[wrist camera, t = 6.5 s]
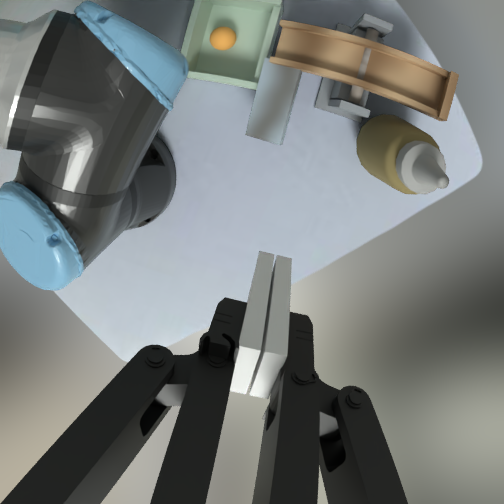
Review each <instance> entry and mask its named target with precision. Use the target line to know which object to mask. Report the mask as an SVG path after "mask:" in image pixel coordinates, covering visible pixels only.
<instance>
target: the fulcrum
mask: <svg viewBox="0 0 504 504" xmlns="http://www.w3.org/2000/svg"><path fill="white" fill-rule="evenodd" d="M368 28H370V29H374V30H376V31H378V32H379V34H378V38H377V43H380V44H383V41H384V40H383V39H382V37H384V36H385V35H387V34H388V33H390V32H392V29H393V24H391V23H388V22H386V21H383V20H381V19H378V18H376V17H373V16H371V15H368V14H365V13H364V15H363V16H362V17H361V18H360V19H359V20H358V21H357V23H356V24H355V25H354V26H353V27H352V28H351V27H348V26H345V25H342V24H339V23H338V24H337V28H336V31H339V32H343V33H347V34H351V35H354V36H358V37H361V38H364V39H365V36H366V33H367V29H368ZM351 88H352V85H349V84H346V83H343V82H339V81H336V80H333V79H329V78H326V77H323V79H322V83H321V86H320V90H319V93H318V97H317V100H316V104H315V108H318V109H322V110H325V111H328V112H331V113H334V114H337V115H340V116H343V117H346V118H349V119H352V120H354V121H357V122H360V123H361V120H362V116H363V117H367V118H368V117H369V114H370V111H371V110H368V109H365V106H366V103H367V100H368V96H369V93H370V92H369V91H367V90H363V94H362V97H361V100H360V104H357V103H354V102H351V101H349V100H348V98H349V95H350V91H351Z"/></svg>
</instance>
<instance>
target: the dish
mask: <svg viewBox="0 0 504 504" xmlns="http://www.w3.org/2000/svg"><path fill="white" fill-rule="evenodd" d="M282 15H283V2H282V0H195V2H194V5H193V9H192V12H191V16H190V19H189V23H188V26H187V30H186V34H185V37H184V41H183V45H182V49H181V53H182V54H183V55H184V56H185V57H186V59H187V61H188V64H189V72H188V76H187V78H192V79H198V80H205V81H211V82H217V83H223V84H228V85H233V86H238V87H243V88H248V89H252V90H257V86H258V82H259V78H260V75H261V71H262V67H263V63H264V60H265V58H269V59H270V56H271V54H272V51H273V47H274V43H275V40H276V36H277V33H278V29H279V23H280V20H281V18H282ZM218 27H229V28H231V29H232V30H233V31H234V32H235V34H236V43H235V44H234V46H233V47H231V48H230V49H228V50H218V49H215V48H214V47H213V46H212V45H211V43H210V34H211V33H212V31H213V30H214V29H216V28H218Z"/></svg>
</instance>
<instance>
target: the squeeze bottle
mask: <svg viewBox="0 0 504 504" xmlns="http://www.w3.org/2000/svg"><path fill="white" fill-rule="evenodd" d="M357 155H358V157H359V160H360V162H361V165H362V166H363V167H364V168H365V169H366V170H367V171H368V172H369V173H370V174H371V175H373V176H375V177H376V178H378V179H380V180H381V181H383V182H385V183H386V184H388V185H389V186H391V187H393V188H394V189H396V190H398V191H400V192H402V193H405V194H427V193H430V192H432V191H435V190H436V189H437V188H440V189H444V188H446V187H447V186H448V184H449V178H448V177H447V175H446V174H445V170H446V164H445V160H444V157H443V155H442V154H441V152H440V150H439V146H438V145H437V143H436V142H435V141H434V139H433V138H432V137H431V136H430V135H428V134H427V133H425V132H424V131H422V130H420V129H419V128H417V127H415V126H413V125H412V124H410V123H408V122H407V121H405V120H403V119H401V118H399V117H397V116H395V115H386V114H381V115H379V116H376V117H373V118H371V119H370V120H369V121H368V122H367V123H366V124H365V125H364V126H363V127H362V128H361V130H360V132H359V135H358V137H357Z"/></svg>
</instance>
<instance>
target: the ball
mask: <svg viewBox="0 0 504 504" xmlns="http://www.w3.org/2000/svg"><path fill="white" fill-rule="evenodd" d="M210 43H211V45H212V46H213V47H214V48H215V49H218V50H228V49H230V48H231V47H233V46H234V44H235V43H236V34H235V32H234V31H233V30H232V29H231V28H229V27H218V28H216V29H214V30H213V31H212V33H211V34H210Z"/></svg>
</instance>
